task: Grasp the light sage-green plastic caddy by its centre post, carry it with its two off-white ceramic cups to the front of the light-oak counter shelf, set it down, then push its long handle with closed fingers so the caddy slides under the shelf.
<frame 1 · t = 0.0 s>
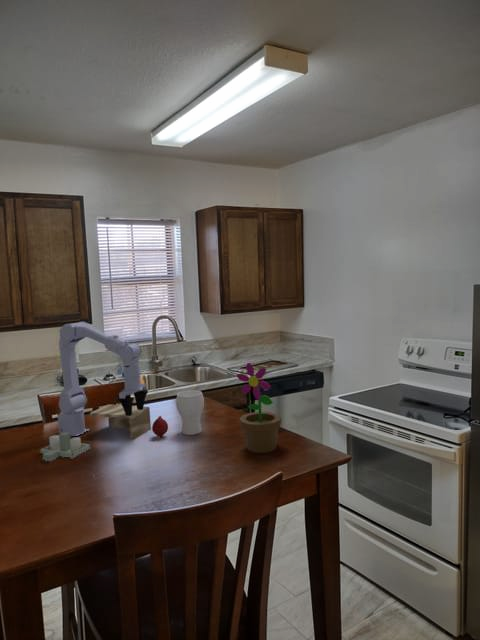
hand: (134, 412, 169), 10 cm above the table, fingers open, 7 cm apart
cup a: (55, 449, 162), resting on tray
cup b: (76, 451, 159), resting on tray
flowerpot: (261, 447, 156), on the table
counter: (121, 432, 178), on the table
tray: (65, 451, 160), on the table, touching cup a, cup b
onion: (160, 437, 171), on the table
cup: (191, 432, 175), on the table
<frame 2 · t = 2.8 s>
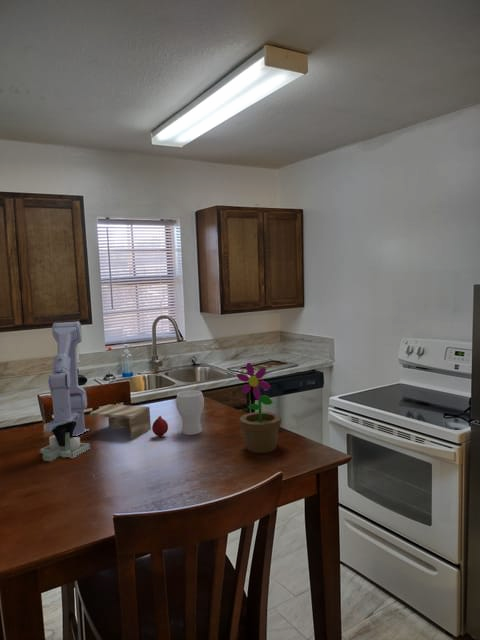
hand: (65, 444, 160), 3 cm above the table, fingers closed on tray, 2 cm apart
tray: (65, 451, 160), on the table, touching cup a, cup b, gripper
everything else where it was.
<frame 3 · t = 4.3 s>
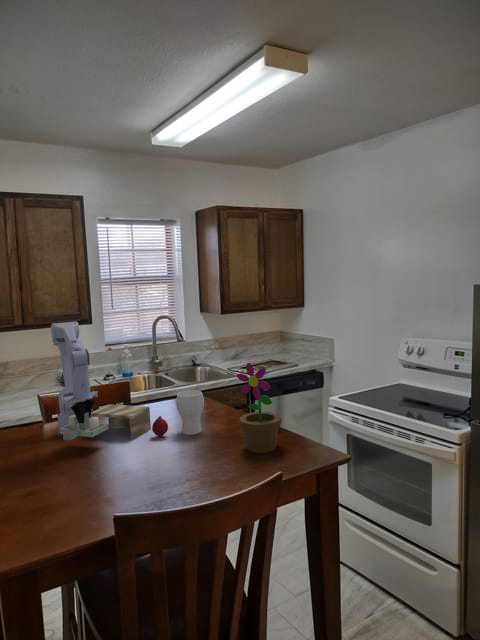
hand: (84, 421, 162), 10 cm above the table, fingers closed on tray, 2 cm apart
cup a: (74, 428, 164), point 7 cm above the table, touching tray
cup b: (94, 430, 161), point 7 cm above the table, touching tray
tray: (84, 431, 163), point 6 cm above the table, touching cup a, cup b, gripper
everything else where it was.
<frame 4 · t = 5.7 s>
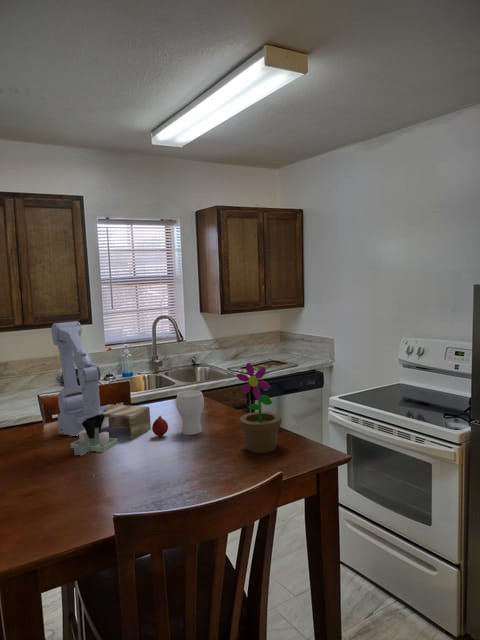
hand: (94, 436, 164), 3 cm above the table, fingers closed on tray, 2 cm apart
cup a: (84, 443, 166), point 1 cm above the table, touching tray
cup b: (104, 445, 163), point 1 cm above the table, touching tray
tray: (94, 446, 164), on the table, touching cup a, cup b, gripper
everything else where it was.
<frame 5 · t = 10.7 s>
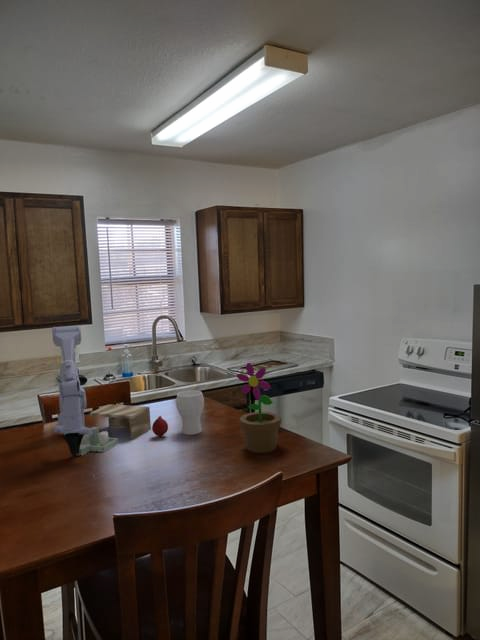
hand: (75, 454, 155), 1 cm above the table, fingers closed, pressing on tray
tray: (95, 445, 164), on the table, touching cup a, cup b, gripper
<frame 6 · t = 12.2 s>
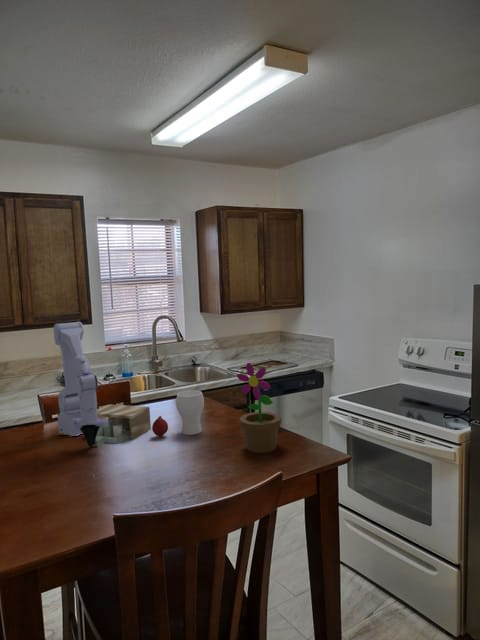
hand: (91, 445, 163), 1 cm above the table, fingers closed, pressing on tray
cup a: (100, 435, 174), point 1 cm above the table, touching tray
cup b: (118, 437, 171), point 1 cm above the table, touching tray
tray: (109, 437, 172), on the table, touching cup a, cup b, gripper
everything else where it was.
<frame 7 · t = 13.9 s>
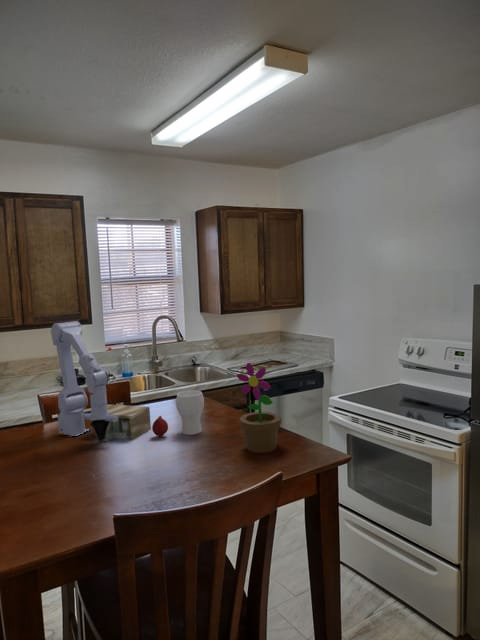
hand: (101, 439, 168), 1 cm above the table, fingers closed
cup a: (108, 430, 179), resting on tray
cup b: (126, 432, 176), resting on tray
tray: (118, 433, 178), on the table, touching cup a, cup b, gripper
everything else where it was.
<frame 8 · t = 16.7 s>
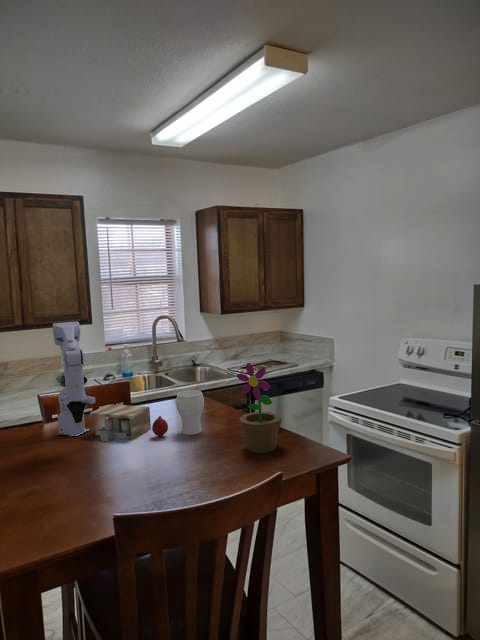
hand: (78, 422, 161), 10 cm above the table, fingers closed
tray: (118, 433, 178), on the table, touching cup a, cup b
everything else where it was.
at the end: tray inside the target area (0.3 cm from its centre), on the table; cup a 4.1 cm from the tray (horizontally); cup b 4.0 cm from the tray (horizontally) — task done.
